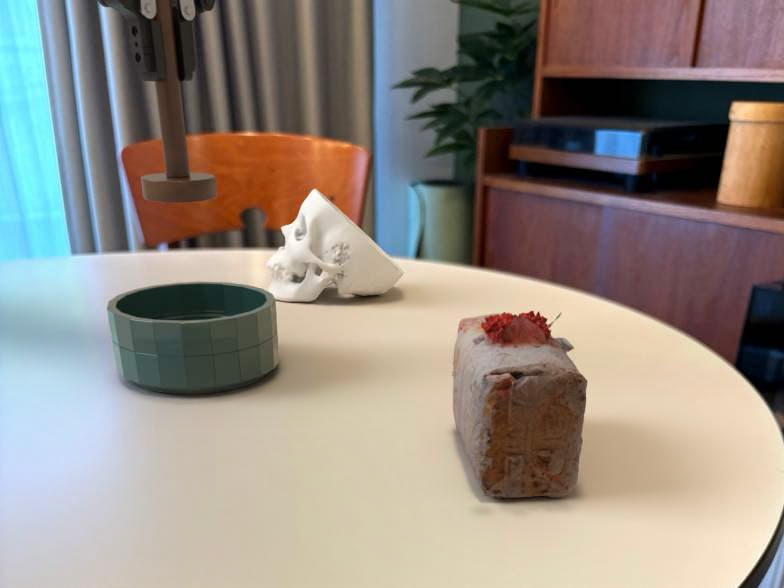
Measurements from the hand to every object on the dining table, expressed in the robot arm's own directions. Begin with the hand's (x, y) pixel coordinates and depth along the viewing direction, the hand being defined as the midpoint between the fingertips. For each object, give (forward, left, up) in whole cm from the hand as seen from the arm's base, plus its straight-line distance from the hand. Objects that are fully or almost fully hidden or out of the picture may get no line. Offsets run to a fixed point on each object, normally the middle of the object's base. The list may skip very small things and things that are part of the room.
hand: (166, 79), depth 61 cm
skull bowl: (+27, +10, -22) cm, 36 cm away
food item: (+3, -30, -22) cm, 38 cm away
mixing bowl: (0, 0, -22) cm, 22 cm away
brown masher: (0, 0, -8) cm, 8 cm away
